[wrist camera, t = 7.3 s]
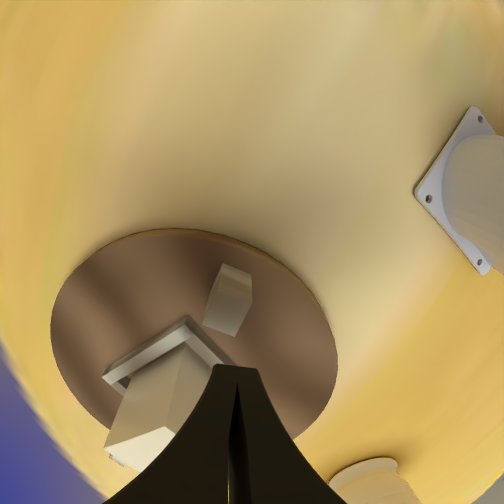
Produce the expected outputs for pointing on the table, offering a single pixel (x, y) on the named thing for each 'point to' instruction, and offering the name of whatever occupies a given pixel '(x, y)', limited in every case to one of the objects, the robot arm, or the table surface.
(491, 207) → the robot arm
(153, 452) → the beige block
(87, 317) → the turntable
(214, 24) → the table surface
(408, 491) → the jar
